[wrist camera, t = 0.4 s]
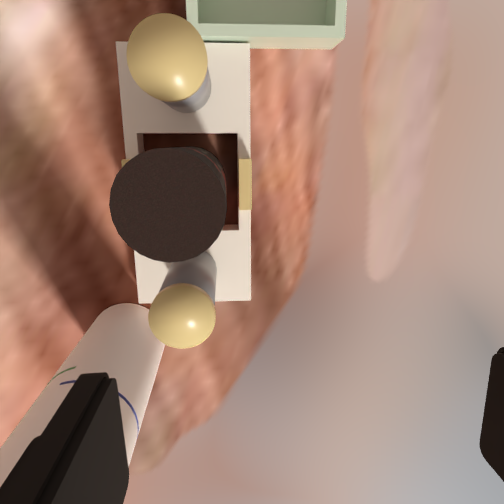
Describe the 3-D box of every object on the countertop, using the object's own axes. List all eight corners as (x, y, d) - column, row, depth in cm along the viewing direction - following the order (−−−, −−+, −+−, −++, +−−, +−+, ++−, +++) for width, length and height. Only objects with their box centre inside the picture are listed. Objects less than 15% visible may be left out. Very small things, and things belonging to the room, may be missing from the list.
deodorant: (180, 132, 33) (145, 122, 19) (238, 171, 34) (248, 190, 20) (146, 190, 34) (88, 224, 20) (203, 226, 35) (189, 282, 21)
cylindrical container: (169, 365, 39) (80, 723, 15) (98, 371, 39) (-112, 748, 14) (161, 300, 37) (43, 589, 13) (85, 306, 37) (-181, 614, 13)
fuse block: (123, 49, 31) (62, -10, 19) (247, 51, 32) (261, -5, 20) (144, 293, 37) (106, 363, 25) (249, 290, 37) (260, 357, 25)
